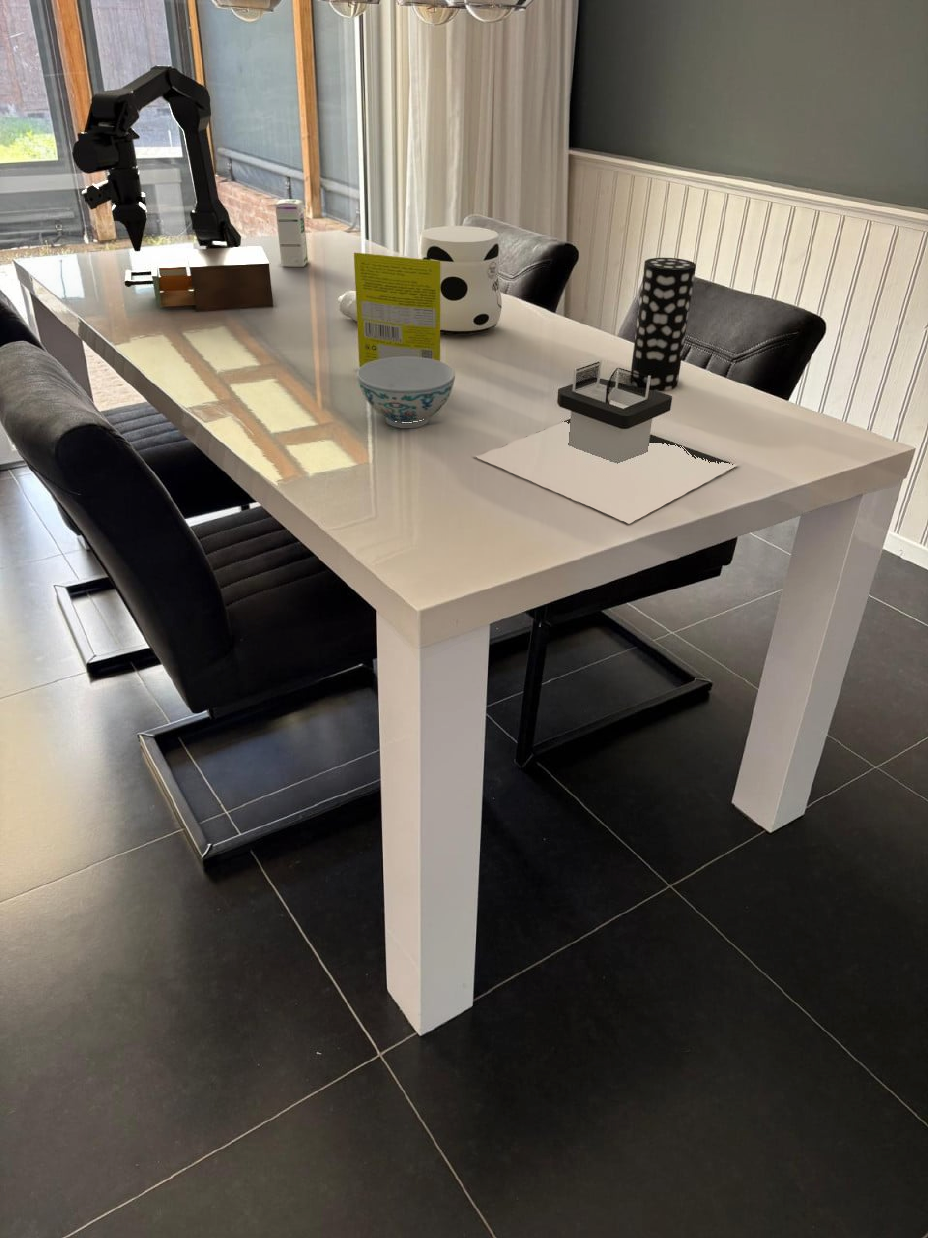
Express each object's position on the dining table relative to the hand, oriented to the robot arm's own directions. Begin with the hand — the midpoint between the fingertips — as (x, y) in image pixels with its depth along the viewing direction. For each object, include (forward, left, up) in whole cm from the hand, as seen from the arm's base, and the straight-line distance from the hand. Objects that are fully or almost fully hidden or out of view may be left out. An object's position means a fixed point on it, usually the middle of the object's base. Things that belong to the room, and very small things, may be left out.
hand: (137, 249), depth 186 cm
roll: (-23, +41, -11) cm, 48 cm away
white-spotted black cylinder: (-32, +106, -11) cm, 111 cm away
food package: (-4, +71, -11) cm, 72 cm away
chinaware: (+10, +86, -11) cm, 87 cm away
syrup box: (-46, -5, -11) cm, 48 cm away
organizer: (-15, +10, -11) cm, 21 cm away
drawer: (-6, +4, -10) cm, 12 cm away
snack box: (-5, +4, -9) cm, 11 cm away
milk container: (-33, +60, -11) cm, 69 cm away
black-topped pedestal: (+2, +118, -11) cm, 118 cm away
